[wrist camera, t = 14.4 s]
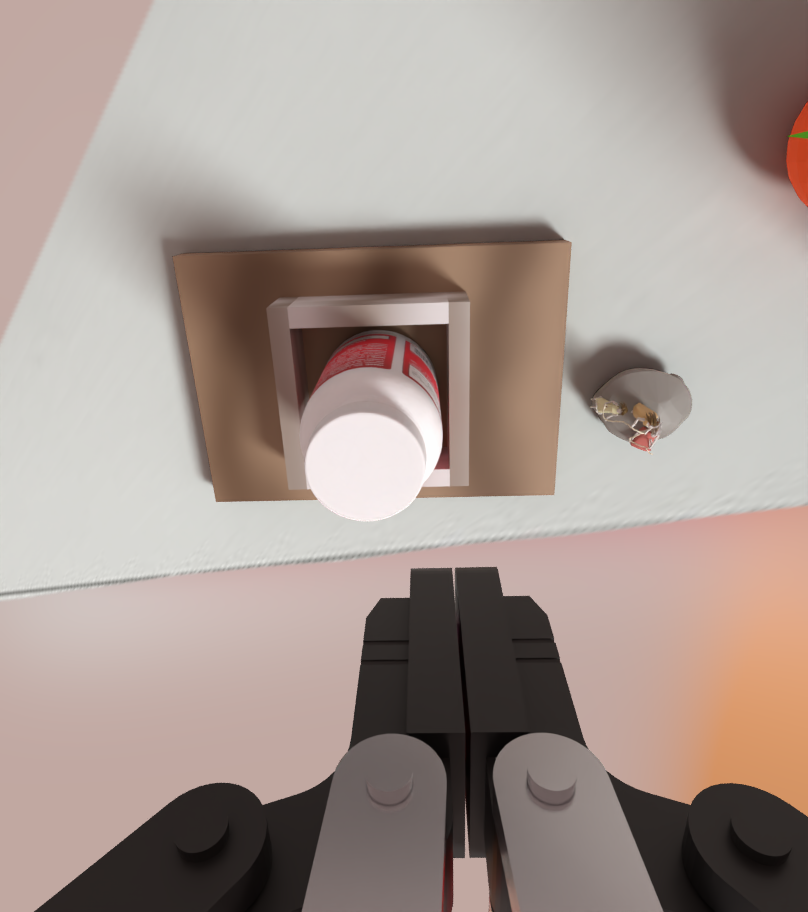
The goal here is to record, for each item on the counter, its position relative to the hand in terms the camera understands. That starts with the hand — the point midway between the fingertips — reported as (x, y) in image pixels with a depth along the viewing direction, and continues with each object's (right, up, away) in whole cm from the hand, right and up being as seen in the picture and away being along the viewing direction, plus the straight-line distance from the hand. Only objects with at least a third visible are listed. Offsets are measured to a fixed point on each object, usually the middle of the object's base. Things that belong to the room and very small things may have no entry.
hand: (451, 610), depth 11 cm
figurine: (+12, +6, +25) cm, 28 cm away
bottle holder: (-2, +7, +24) cm, 25 cm away
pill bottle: (-2, +7, +23) cm, 24 cm away
